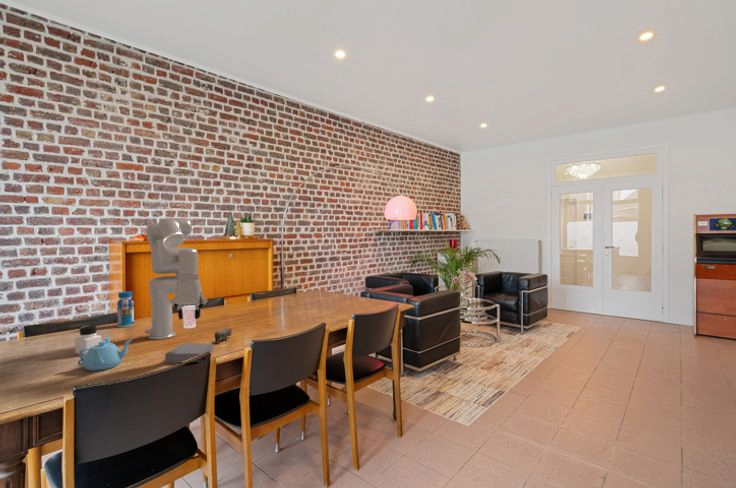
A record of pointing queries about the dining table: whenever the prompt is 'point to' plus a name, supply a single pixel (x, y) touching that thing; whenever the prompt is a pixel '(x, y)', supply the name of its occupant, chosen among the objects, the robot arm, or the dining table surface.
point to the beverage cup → (189, 316)
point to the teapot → (102, 356)
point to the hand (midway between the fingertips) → (189, 318)
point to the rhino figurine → (222, 335)
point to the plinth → (187, 352)
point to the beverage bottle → (125, 309)
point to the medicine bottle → (87, 339)
